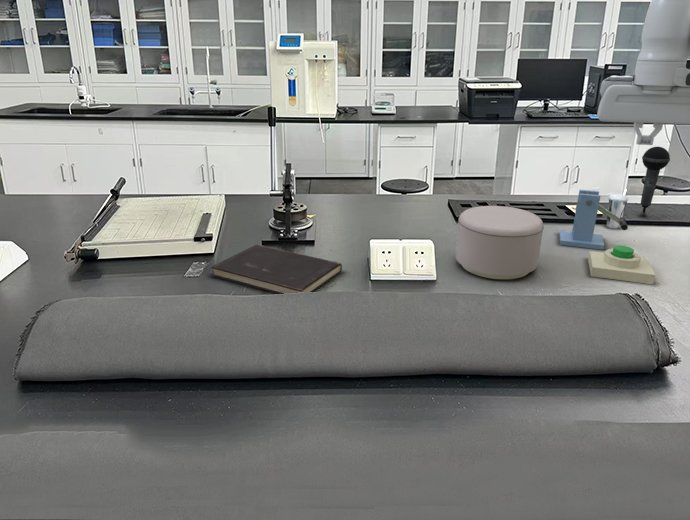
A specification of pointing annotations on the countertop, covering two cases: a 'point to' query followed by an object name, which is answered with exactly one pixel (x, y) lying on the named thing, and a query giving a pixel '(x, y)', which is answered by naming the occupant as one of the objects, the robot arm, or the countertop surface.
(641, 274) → the switch block
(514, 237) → the container
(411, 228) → the countertop surface
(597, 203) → the lever bracket
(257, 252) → the hardcover book
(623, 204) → the milkshake
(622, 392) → the countertop surface
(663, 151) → the microphone
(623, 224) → the light lever
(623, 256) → the light button
